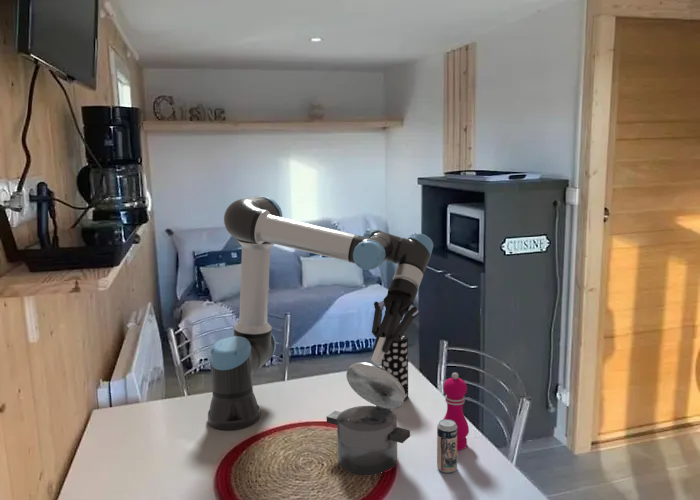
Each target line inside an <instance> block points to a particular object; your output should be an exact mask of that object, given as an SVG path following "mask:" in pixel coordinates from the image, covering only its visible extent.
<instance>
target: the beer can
mask: <svg viewBox="0 0 700 500" xmlns="http://www.w3.org/2000/svg"><path fill="white" fill-rule="evenodd" d="M443 419H444V418H443ZM443 419H440V421H439V422H438V423H437V426H436V428H437V430H436V431H437V432H436V441H437V442H436V445H437V446H436V451H437V452H436V458H437V459H436V460H437V461H436V462H437V463H436V465H437V466H436V468H437V469H438V470H439V471H441V472H442V473H444V474H445V473H446V474H447V473H448V474H450V473H453V472H455V471H456V470H457V469H458V450H457V425H456V423H455V422H454V421H453V420H450V419H444V420H443Z"/></svg>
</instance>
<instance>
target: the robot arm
mask: <svg viewBox="0 0 700 500" xmlns="http://www.w3.org/2000/svg"><path fill="white" fill-rule="evenodd" d="M223 222H224V223H223V224H224V227H225V229H226V231H227V232H228V234H230V235H231V236H232V237H233V238H235V239H237V242H238V243H239V245H240V246H241V264H240V266H241V267H240V290H239V291H240V292H239V317H238V318H239V319H238V322H236V323H235V325H233V336H227V337H225V338H220V339H219V340H217V341H216V342H214V343H213V344H212V345H211V348H210V351H209V355H210V356H209V363H210V377H211V391H212V398H211V400H210V405H209V410H208V412H207V423H208V424H209V426H210V427H212V428H214V429H217V430H223V431H234V430H240V429H241V430H242V429H245V428H248V427H250V426H253V425H254V424H255V423H257V422H258V421H259V419H260V418H261V408H260V406H259V404H258V402H257V398H256V396H255V393H254V390H253V389H254V387H253V384H254V383H253V374H254V373H255V372H257V371H258V370H259V369H261V368H262V367H263V366H264V365H266V364H268V363H269V361H270V360H271V358H272V357H273V356H274V354H275V352H276V347H277V342H276V338H275V336H274V334H273V333H272V330H273V329H272V326H271V324H270V323H269V322H268V307H269V290H270V289H269V287H270V266H271V249H272V247H273V246H274V245H277V246H281V247H285V248H289V249H294V250H297V251H302V252H307V253H311V254H315V255H318V256H323V257H326V258H330V259H335V260H339V261H344V262H348V263H352V264H355V265H356V266H357V267H358V268H360V269H361V270H364V271H365V270H366V271H371V270H374V269H377V268H378V267H380V266H381V265H382V264H384V262H385V261H386V262H389V263H393V264H397V267H396V269H395V271H394V272H395V273H394V275H393V276H392V280H391V282H390V284H389V287H388V289H387V295H386V296H385V297H384V298H383V300H382V301H379V302H378V301H374V302H373V306H374V313H373V314H374V315H373V320H372V328H371V333H372V335H373V336H374V337H375V341H374V344H373V348H372V349H373V350H374V351H373V354H372V356H371V359H370V361H372V362H373V363H372V364H373V365H376V366H381V365H382V359H383V356H384V354H385V353H387V352H388V351H389V348H390V345H391V343H392V342H393V341H400V339H401V338H402V336H403V335H404V334H406V332H407V330H408V328H409V327H410V325H411V324H412V323H413V320H414V319H415V318H417V317H418V316H419V314H420V312H419V310H418V308H417V306H414V302H415V300H416V297H417V294H418V291H419V288H420V285H421V284H422V281H423V277H424V275H425V272H426V270H427V267H428V264H429V262H430V259H431V255H432V252H433V249H434V242H433V240H432V239H431V238H430V237H429V236H427V235H426V234H423V233H420V232H419V233H416V232H415V233H412V234H410V235H409V237H408V238H406V237H400V236H397V235H394V234H391V233H387V232H385V231H382V230H381V229H373V228H367V229H366V230H365V232H364V233H363V235H358V234H354V233H350V232H346V231H342V230H338V229H334V228H328V227H325V226H319V225H315V224H311V223H308V222H303V221H298V220H294V219H290V218H286V217H283V211H282V208H281V206H280V205H279V204H278V203H277V201H276V200H275V199H273V198H271V197H268V196H265V195H263V196H261V195H256V196H252V197H251V196H250V197H247V198H240V199H237V200H234V201H233V202H231V203H230V204H229V205H228V206H227V208H226V210H225V212H224V216H223ZM384 308H385V310H384ZM383 311H384V316H383ZM385 337H386V339H385Z"/></svg>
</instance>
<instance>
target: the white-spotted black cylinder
mask: <svg viewBox="0 0 700 500" xmlns="http://www.w3.org/2000/svg"><path fill="white" fill-rule="evenodd" d="M385 339H386V337H385ZM381 368H383V369H384V370H386V371H388V372H389V373H390V374H392V375H393V376H394V377H395V378H396V379H397V380H398V381H399V382H400V383H401V385H402V386H403V388H404V391H405V399H404V401H403V402H406V401H407V400H408V399H409V336H408V335H407V334H406V333H404V335H403V336H402V338H401V339H400V341H393V342H392V343H391V345H390V348H389V351H388V352H387V353H385V354H384V356H383V359H382V362H381Z"/></svg>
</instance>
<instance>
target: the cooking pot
mask: <svg viewBox="0 0 700 500" xmlns="http://www.w3.org/2000/svg"><path fill="white" fill-rule="evenodd" d="M325 418H326V423H328V424H332V425H335V426H336V431H337V432H336V433H337V462H339V463H338V465H339V467H341V469H342V470H344V471H346V472H347V473H350V474H353V475H357V476H364V475H372V476H376V475H375V474H379V473H381V472H382V473H383V472H385V471H387V470H389V469H391V468H393V467H394V466H395V465H397V463H398V443H400V444H403V443H404V442H406V441H407V440H408V439H409V438H410V437H411V430H410V429H407V428H403V427H399V426H398V418H397V415H396V414H395V412H393V411H392V410H388V409H385V408H382V407H377V406H376V405H361V406H360V405H359V406H353V407H349V408H347V409H345V410H343V411H338V410H334V411H332V412H331V413H330V414H328V415H327V416H326V417H325ZM395 467H396V466H395ZM395 467H394V468H395ZM394 468H393V469H394ZM391 470H392V469H391ZM385 473H386V472H385ZM383 474H384V473H383ZM379 475H380V474H379Z"/></svg>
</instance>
